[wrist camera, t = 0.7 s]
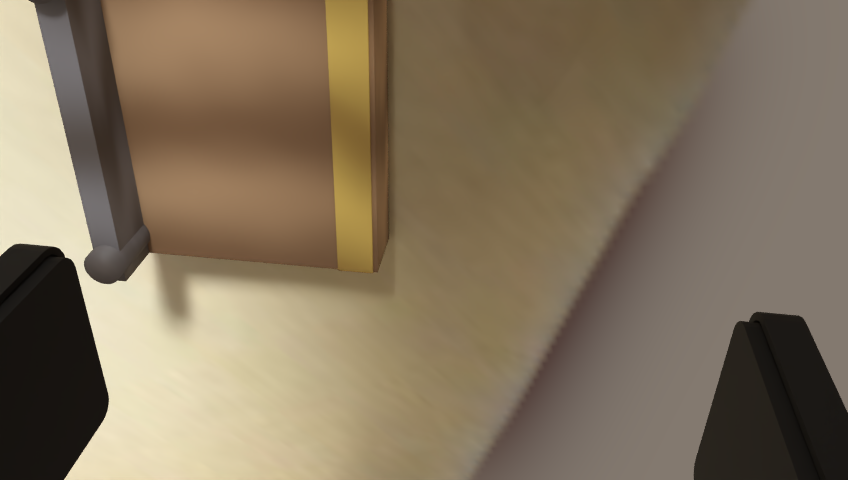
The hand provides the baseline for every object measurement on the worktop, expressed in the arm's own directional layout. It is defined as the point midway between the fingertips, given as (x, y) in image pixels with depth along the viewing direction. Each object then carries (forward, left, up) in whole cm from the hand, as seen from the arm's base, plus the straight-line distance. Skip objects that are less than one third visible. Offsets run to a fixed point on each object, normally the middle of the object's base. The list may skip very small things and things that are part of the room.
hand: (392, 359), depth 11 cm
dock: (+5, -10, -23) cm, 26 cm away
